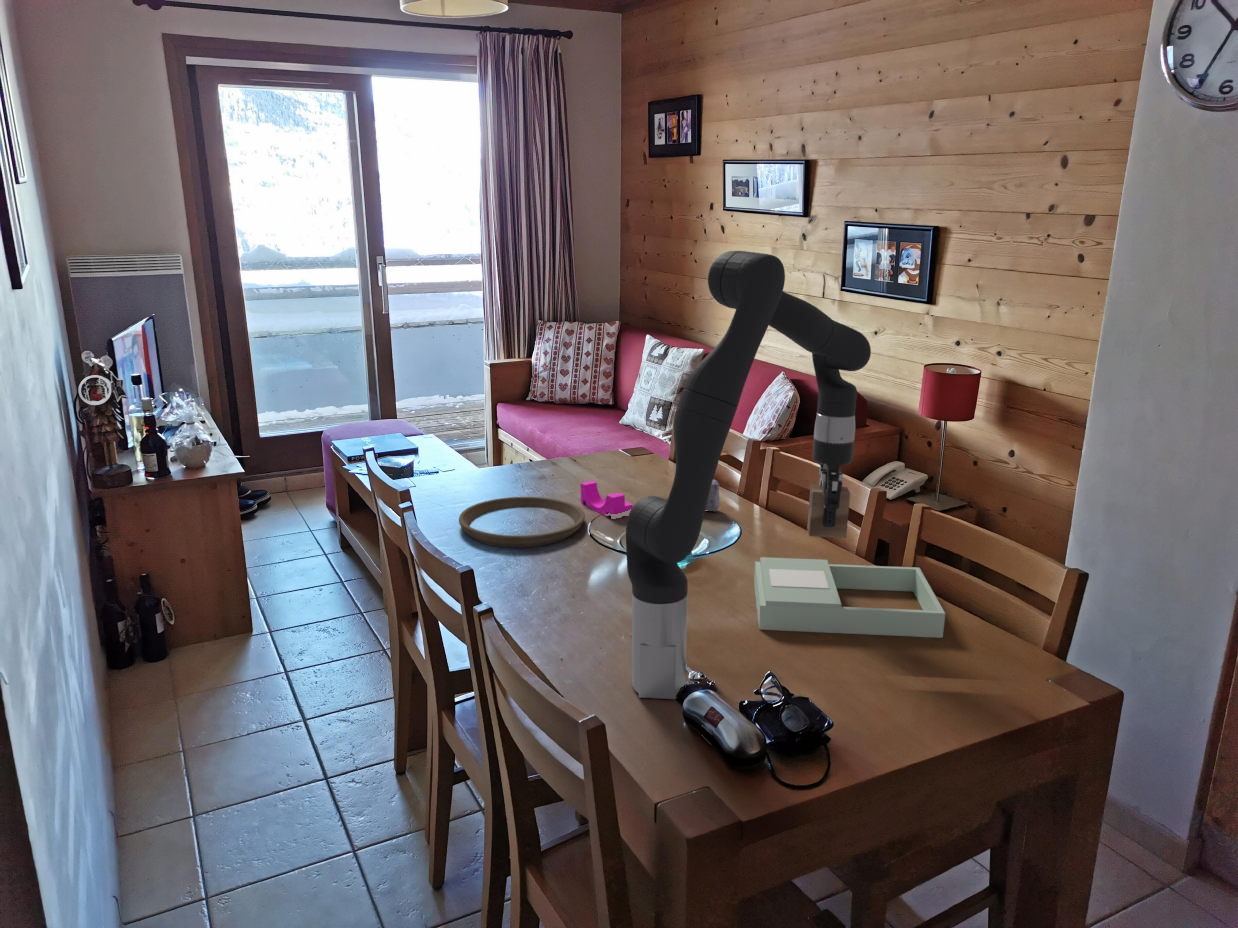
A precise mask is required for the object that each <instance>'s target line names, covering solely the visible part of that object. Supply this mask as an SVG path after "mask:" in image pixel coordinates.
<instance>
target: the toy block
mask: <svg viewBox="0 0 1238 928" xmlns="http://www.w3.org/2000/svg"><path fill="white" fill-rule="evenodd" d="M605 497H606V498H602V496H601V495H600V492H599V489H598V482H596V481H594V480H590V481H584V482H581V483H580V504H582V505H584V504H586V505H585V506H586V507H587V508H590V509H591V510H593V511H595V512H596V513H599V514H601V515H602V516H604V514H608V513H610V514H618V513H622V512H625V511H628V510H630V509H632V508H633V506H634V504H632V503H630V502H628V501H626V500H625V499H626V496H625V494H623V493H621V492H615V493H609V494H606V496H605Z"/></svg>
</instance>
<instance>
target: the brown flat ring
mask: <svg viewBox="0 0 1238 928" xmlns="http://www.w3.org/2000/svg"><path fill="white" fill-rule="evenodd" d="M512 508H542V509H547V510H548V509H549V510H553V511H557V512H560V513H562V514H565V515H567V516H569V517H570V518H571V519H572V520H573V524H572V525H569V526H567V527H566V528H562V529H559V530H555V531H551V532H546V533H539V534H531V535H528V534H527V535H506V534H505V535H504V534H496V533H491V532H486V531H483V530H478V529H475V528H473V527H471V524H472V523H473V522H474V521H475V520H476V519H479V517H482V516H483V515H486V514H488V513H492V512H495V511H499V510H504V509H512ZM585 518H586V515H585V512H584V510H582V508H580V507H579V506H578V505H576V504H573V503H571V502H568V501H564V500H560V499H556V498H555V499H554V498H548V497H540V496H513V497H503V498H502V497H501V498H494V499H490V500H485V501H482V502H478V503H476V504H472V505H471V506H469V507H467V508H466V509H464V510H463V511H462V512H461V513H460V515H459V517H458V522H459V526H460V527H461V529H462V530H463V531H464V532H465V533H466V534H467V535H469V536H470V537H471V538H472V539H474V540H476V541H478V542H479V543H483V544H485V545H490V546H496V547H501V548H502V547H503V548H517V549H518V548H519V549H521V548H532V547H539V546H545V545H550V544H554V543H557V542H559V541H562V540H565V539H568V538H569V537H570V536H571V535H573V534H574V533H576V532H577V531H578V530H579V529H580V528H581V526H583V525H582V524H583V523H584V522H585Z"/></svg>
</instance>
